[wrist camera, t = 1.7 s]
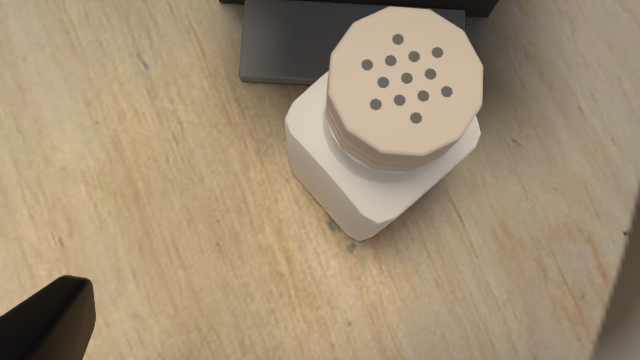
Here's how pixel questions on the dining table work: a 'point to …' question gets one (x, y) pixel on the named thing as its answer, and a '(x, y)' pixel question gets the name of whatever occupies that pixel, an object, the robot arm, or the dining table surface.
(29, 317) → the robot arm
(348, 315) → the dining table surface
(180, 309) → the dining table surface
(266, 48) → the coffee maker
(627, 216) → the dining table surface
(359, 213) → the pepper shaker
